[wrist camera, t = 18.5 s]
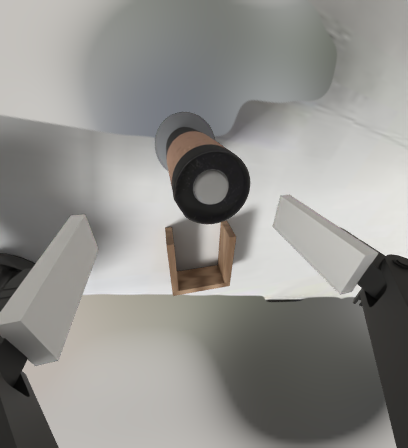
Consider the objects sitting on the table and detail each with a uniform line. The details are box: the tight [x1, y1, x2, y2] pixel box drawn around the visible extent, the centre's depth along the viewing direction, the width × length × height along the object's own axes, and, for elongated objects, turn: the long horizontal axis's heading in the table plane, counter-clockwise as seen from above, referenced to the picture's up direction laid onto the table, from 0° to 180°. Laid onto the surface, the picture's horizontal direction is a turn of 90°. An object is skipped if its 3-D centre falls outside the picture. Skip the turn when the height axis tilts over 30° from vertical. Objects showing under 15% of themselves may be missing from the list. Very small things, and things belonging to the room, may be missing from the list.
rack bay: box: [165, 221, 236, 296], centre depth 46 cm, size 15×16×6 cm
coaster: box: [155, 112, 215, 170], centre depth 34 cm, size 11×11×1 cm
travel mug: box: [166, 127, 250, 224], centre depth 25 cm, size 8×8×20 cm
